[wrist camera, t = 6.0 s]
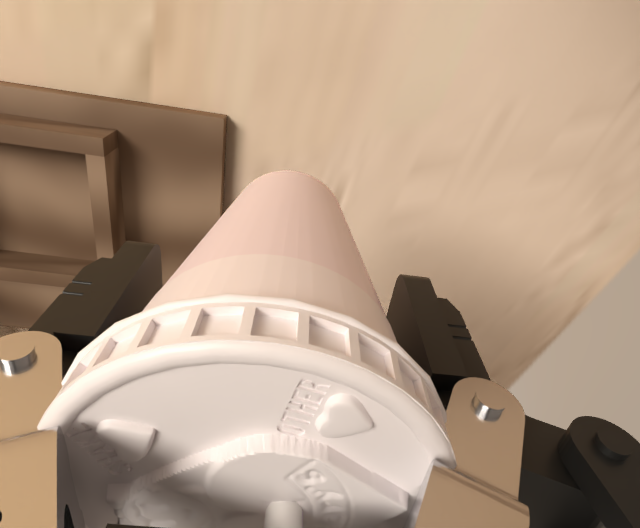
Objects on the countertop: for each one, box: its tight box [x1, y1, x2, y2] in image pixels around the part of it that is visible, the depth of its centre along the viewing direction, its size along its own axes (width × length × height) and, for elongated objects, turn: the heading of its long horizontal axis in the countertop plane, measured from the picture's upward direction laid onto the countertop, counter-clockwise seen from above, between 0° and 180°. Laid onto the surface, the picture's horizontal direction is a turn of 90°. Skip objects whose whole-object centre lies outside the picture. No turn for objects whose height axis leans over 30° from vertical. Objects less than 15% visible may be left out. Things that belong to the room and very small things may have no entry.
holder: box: [0, 81, 227, 329], centre depth 25 cm, size 17×22×9 cm
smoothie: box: [37, 170, 457, 528], centre depth 9 cm, size 6×6×14 cm
